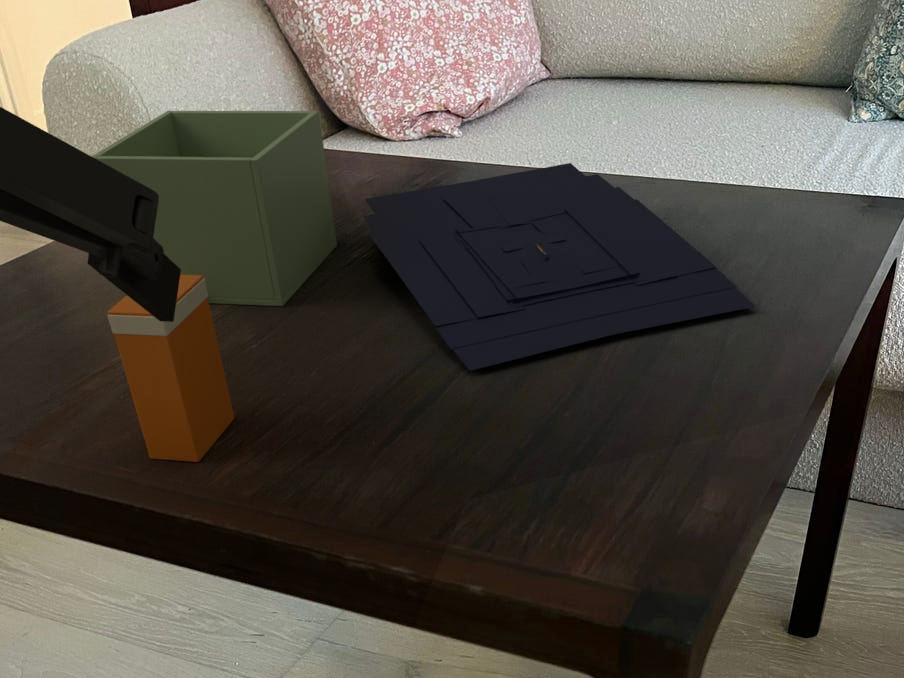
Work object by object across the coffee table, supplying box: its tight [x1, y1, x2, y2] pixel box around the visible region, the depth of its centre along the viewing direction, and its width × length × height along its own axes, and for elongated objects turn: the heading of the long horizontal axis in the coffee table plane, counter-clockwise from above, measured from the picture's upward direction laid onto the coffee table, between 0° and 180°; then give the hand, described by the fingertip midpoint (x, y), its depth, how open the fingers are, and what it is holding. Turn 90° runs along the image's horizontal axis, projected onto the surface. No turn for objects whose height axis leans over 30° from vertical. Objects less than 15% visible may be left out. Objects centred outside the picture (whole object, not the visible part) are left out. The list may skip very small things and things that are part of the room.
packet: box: [107, 275, 235, 463], centre depth 67 cm, size 4×6×10 cm, turn 167°
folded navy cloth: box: [362, 162, 756, 371], centre depth 88 cm, size 24×30×4 cm
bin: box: [90, 110, 338, 307], centre depth 90 cm, size 14×14×12 cm
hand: (49, 291), depth 54 cm, fingers open, 13 cm apart
